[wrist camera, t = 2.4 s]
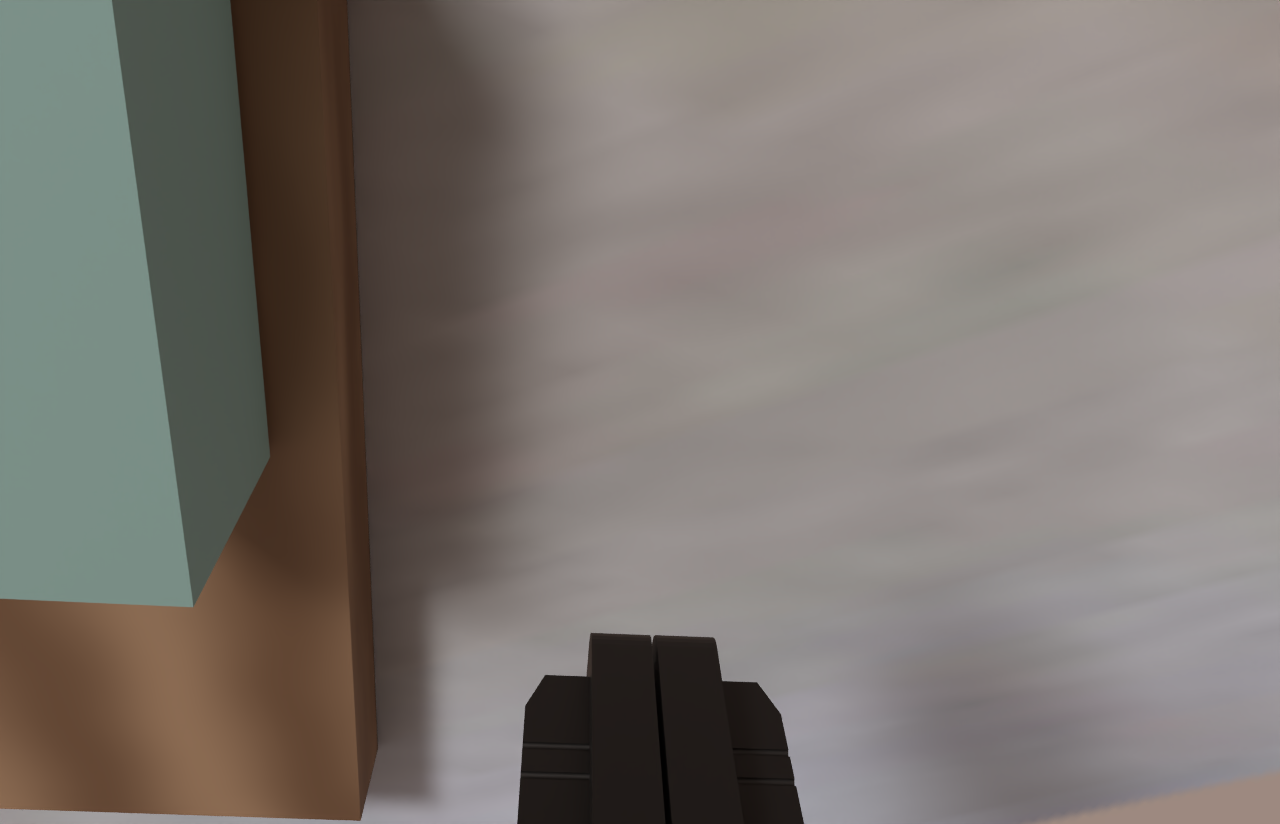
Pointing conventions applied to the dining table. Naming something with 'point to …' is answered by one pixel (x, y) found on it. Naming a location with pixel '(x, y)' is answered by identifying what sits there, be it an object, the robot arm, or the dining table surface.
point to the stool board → (240, 524)
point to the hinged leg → (123, 301)
